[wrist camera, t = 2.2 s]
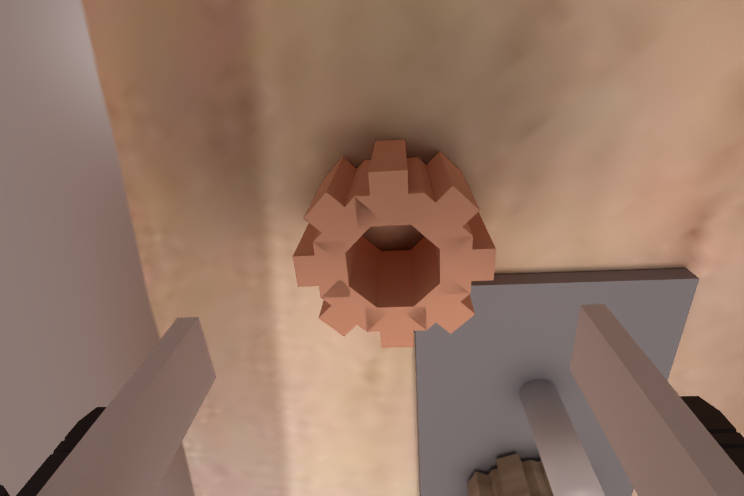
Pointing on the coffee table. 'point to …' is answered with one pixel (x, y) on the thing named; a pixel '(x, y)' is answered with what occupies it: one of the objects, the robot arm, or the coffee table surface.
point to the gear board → (535, 376)
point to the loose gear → (402, 267)
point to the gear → (511, 479)
